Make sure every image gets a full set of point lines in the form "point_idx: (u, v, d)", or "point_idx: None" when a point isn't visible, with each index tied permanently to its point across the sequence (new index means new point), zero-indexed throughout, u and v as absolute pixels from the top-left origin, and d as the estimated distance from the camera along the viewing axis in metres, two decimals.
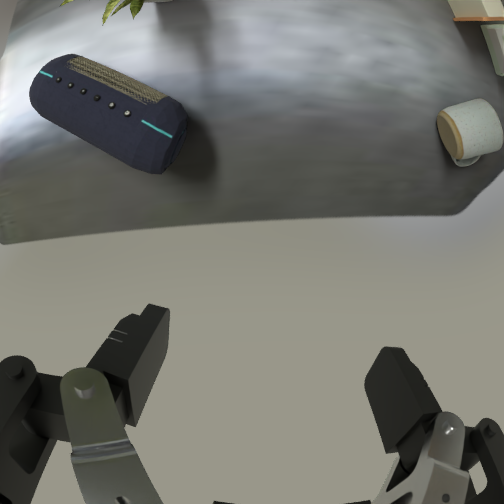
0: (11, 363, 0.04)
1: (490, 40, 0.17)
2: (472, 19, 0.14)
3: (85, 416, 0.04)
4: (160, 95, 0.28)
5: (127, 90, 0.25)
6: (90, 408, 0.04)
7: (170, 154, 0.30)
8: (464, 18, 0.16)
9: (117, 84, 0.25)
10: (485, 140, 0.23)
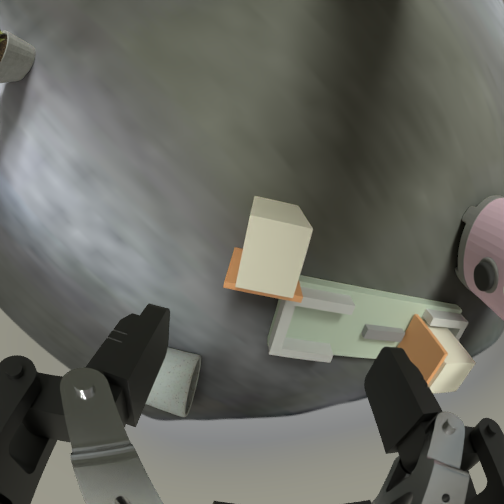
0: (11, 363, 0.04)
1: (280, 299, 0.26)
2: None
3: (85, 416, 0.04)
4: None
5: None
6: (89, 407, 0.04)
7: None
8: None
9: None
10: (153, 402, 0.25)
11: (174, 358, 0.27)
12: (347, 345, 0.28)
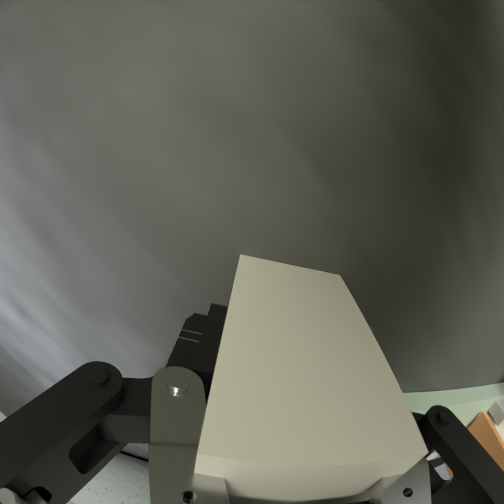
0: (95, 369, 0.05)
1: None
2: None
3: (189, 413, 0.05)
4: None
5: None
6: (179, 405, 0.05)
7: None
8: None
9: None
10: None
11: (128, 483, 0.13)
12: None
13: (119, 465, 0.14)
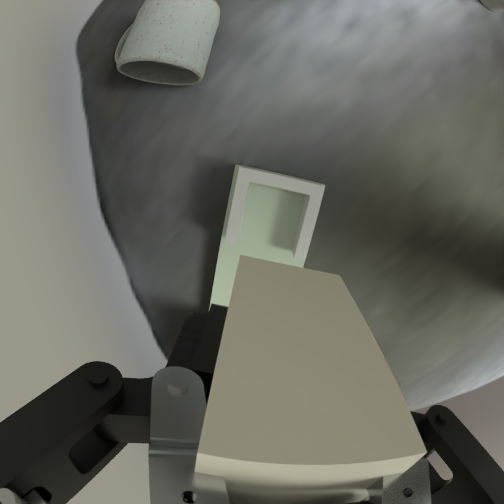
0: (95, 369, 0.05)
1: (299, 178, 0.24)
2: None
3: (189, 413, 0.05)
4: None
5: None
6: (179, 405, 0.05)
7: None
8: None
9: None
10: (152, 22, 0.14)
11: (208, 52, 0.18)
12: (233, 260, 0.26)
13: (211, 46, 0.19)
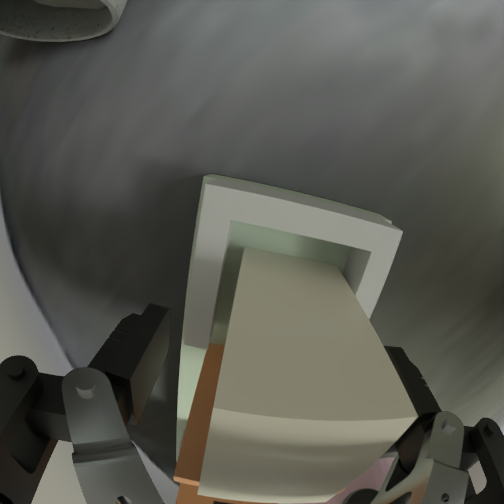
0: (12, 363, 0.04)
1: (341, 205, 0.11)
2: None
3: (87, 416, 0.04)
4: None
5: None
6: (91, 407, 0.04)
7: None
8: None
9: None
10: None
11: None
12: None
13: None
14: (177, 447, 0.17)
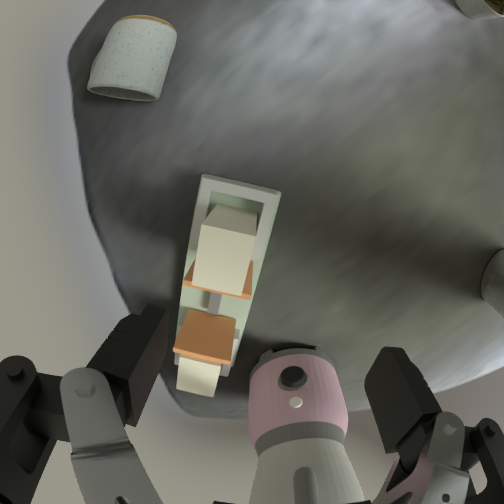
0: (11, 363, 0.04)
1: (257, 186, 0.27)
2: None
3: (85, 416, 0.04)
4: None
5: None
6: (90, 407, 0.04)
7: None
8: None
9: None
10: (113, 51, 0.17)
11: (162, 74, 0.21)
12: None
13: None
14: (176, 335, 0.33)
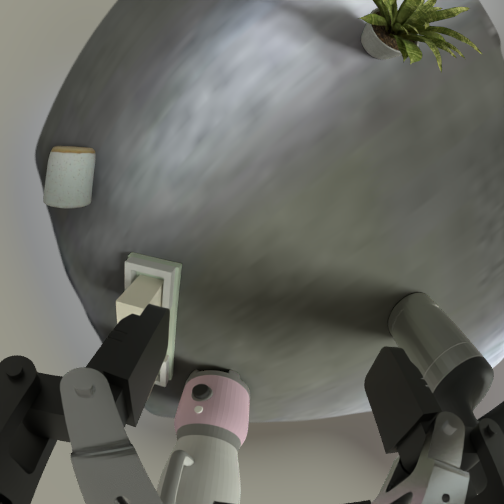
0: (11, 363, 0.04)
1: (163, 263, 0.38)
2: None
3: (85, 416, 0.04)
4: None
5: None
6: (90, 407, 0.04)
7: None
8: None
9: None
10: (51, 180, 0.28)
11: (87, 189, 0.32)
12: None
13: (92, 179, 0.33)
14: None
